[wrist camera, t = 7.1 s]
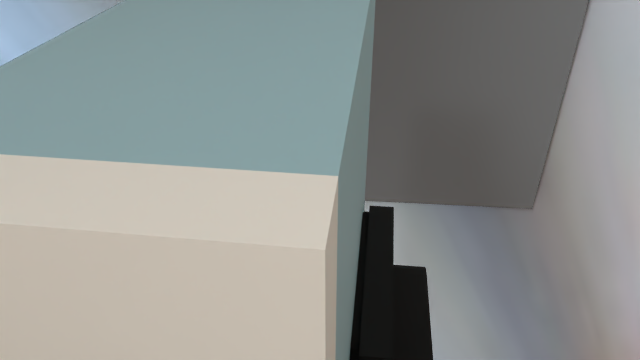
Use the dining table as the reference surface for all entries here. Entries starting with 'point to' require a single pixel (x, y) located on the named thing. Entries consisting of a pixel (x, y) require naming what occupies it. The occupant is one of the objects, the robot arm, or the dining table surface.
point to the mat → (466, 98)
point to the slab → (186, 182)
